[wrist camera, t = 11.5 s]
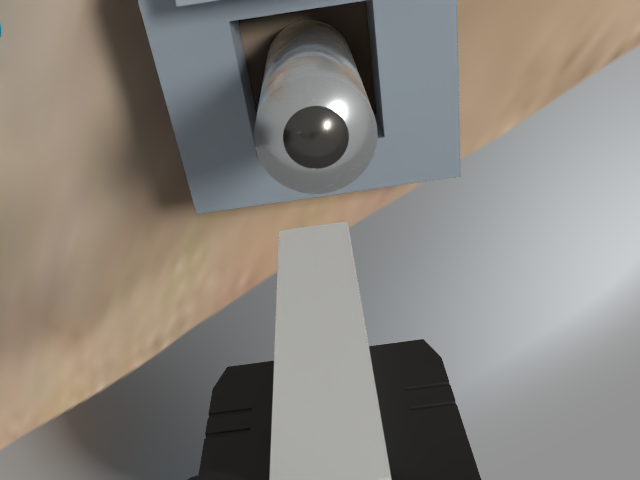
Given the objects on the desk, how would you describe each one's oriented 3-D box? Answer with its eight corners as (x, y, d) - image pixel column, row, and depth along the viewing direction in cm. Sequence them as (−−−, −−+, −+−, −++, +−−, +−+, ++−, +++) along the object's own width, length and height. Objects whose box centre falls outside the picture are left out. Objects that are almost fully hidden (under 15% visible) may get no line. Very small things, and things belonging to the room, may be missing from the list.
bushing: (274, 112, 32) (266, 201, 23) (259, 26, 30) (242, 86, 20) (356, 100, 32) (382, 185, 22) (347, 13, 30) (371, 67, 20)
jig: (205, 186, 34) (191, 230, 30) (146, -40, 28) (117, -28, 24) (445, 151, 34) (469, 191, 29) (438, -86, 28) (466, -83, 23)
